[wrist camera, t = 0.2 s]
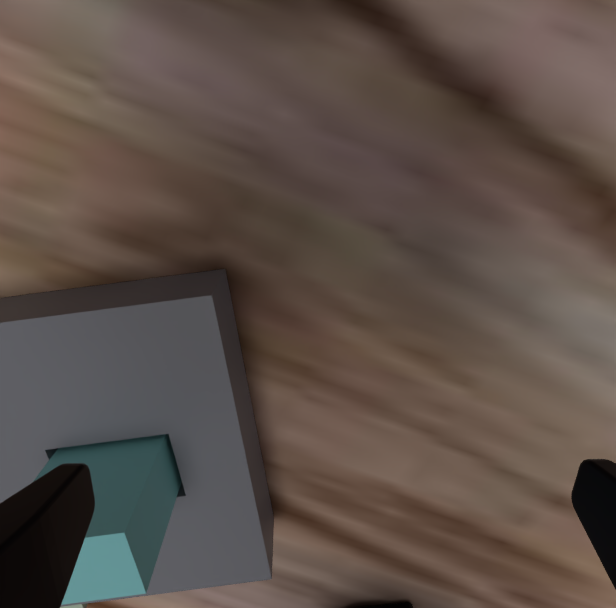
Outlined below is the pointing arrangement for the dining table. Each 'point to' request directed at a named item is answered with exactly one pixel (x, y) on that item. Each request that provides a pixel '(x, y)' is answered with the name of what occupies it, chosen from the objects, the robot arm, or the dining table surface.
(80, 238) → the dining table surface
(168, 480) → the plug
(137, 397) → the socket block
